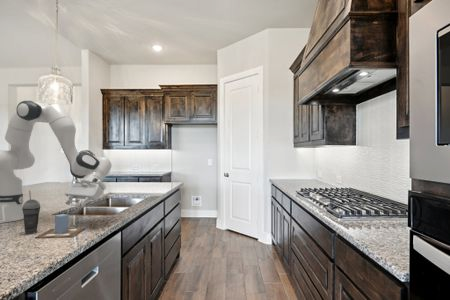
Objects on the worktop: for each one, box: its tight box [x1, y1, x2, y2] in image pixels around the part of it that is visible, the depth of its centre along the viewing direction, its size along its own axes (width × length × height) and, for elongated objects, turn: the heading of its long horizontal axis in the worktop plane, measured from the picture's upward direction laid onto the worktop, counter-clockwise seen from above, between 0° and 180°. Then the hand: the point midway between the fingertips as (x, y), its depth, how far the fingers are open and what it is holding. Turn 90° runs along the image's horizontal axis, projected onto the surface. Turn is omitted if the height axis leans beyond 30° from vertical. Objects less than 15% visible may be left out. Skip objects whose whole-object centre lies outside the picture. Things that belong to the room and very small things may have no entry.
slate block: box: [54, 213, 70, 234], centre depth 130 cm, size 4×4×8 cm
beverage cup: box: [22, 190, 42, 235], centre depth 131 cm, size 7×7×20 cm
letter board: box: [34, 227, 86, 239], centre depth 130 cm, size 16×14×1 cm
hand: (74, 204), depth 136 cm, fingers open, 8 cm apart
